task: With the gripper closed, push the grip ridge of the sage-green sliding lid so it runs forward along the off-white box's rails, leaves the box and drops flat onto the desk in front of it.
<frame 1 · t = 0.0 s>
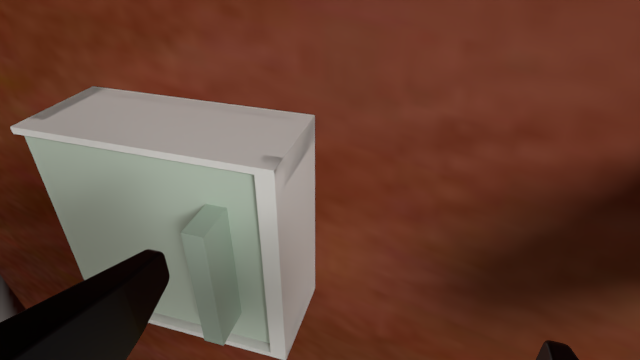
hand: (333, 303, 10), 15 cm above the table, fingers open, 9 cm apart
box: (211, 194, 30), on the table
lid: (163, 238, 26), point 5 cm above the table, touching box
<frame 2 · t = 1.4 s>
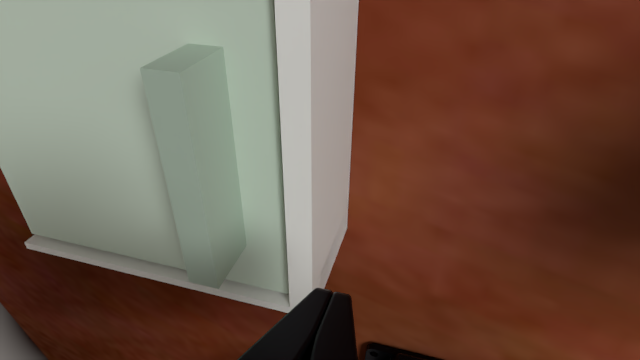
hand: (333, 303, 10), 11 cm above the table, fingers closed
box: (202, 88, 21), on the table
lid: (128, 131, 17), point 5 cm above the table, touching box
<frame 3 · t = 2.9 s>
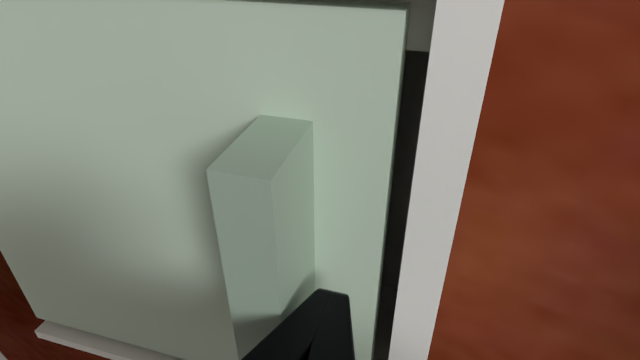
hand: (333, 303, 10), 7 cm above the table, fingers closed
box: (253, 140, 17), on the table
lid: (162, 210, 13), point 5 cm above the table, touching box, gripper
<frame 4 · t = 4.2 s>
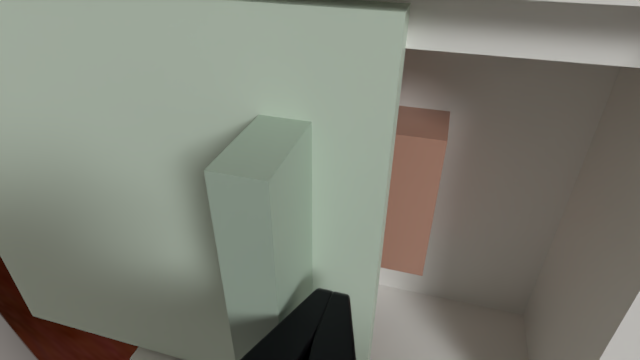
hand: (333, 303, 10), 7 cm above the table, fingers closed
box: (369, 155, 16), on the table
lid: (159, 209, 13), point 5 cm above the table, touching box, gripper
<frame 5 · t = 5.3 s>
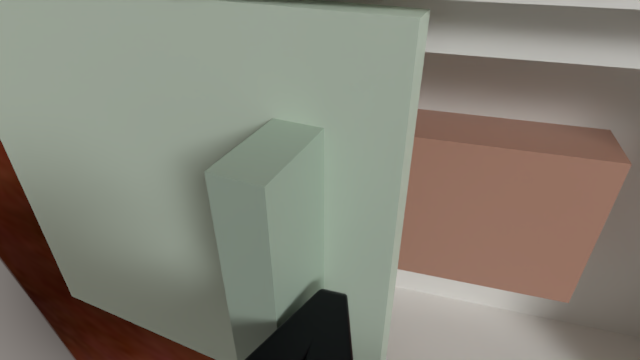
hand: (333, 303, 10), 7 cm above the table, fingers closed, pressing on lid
box: (496, 173, 15), on the table
lid: (184, 205, 13), point 5 cm above the table, tilted 8°, touching box, gripper
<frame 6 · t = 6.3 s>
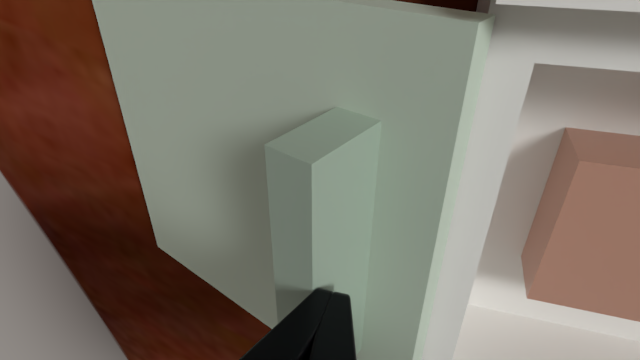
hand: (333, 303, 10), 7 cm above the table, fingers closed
lid: (256, 179, 15), point 3 cm above the table, tilted 22°, touching gripper
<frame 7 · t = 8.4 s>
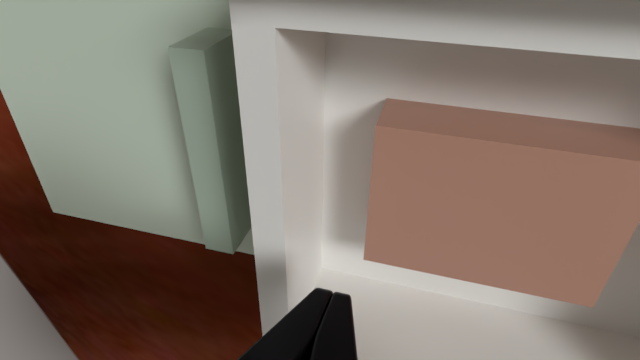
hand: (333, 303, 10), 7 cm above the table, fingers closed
box: (517, 172, 14), on the table
lid: (147, 112, 18), on the table
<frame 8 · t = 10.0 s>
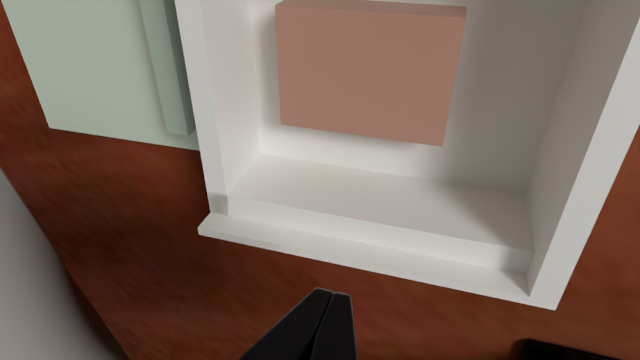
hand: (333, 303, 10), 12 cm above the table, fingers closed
box: (397, 58, 19), on the table
lid: (123, 31, 23), on the table
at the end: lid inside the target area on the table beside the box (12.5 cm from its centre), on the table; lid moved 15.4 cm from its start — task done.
